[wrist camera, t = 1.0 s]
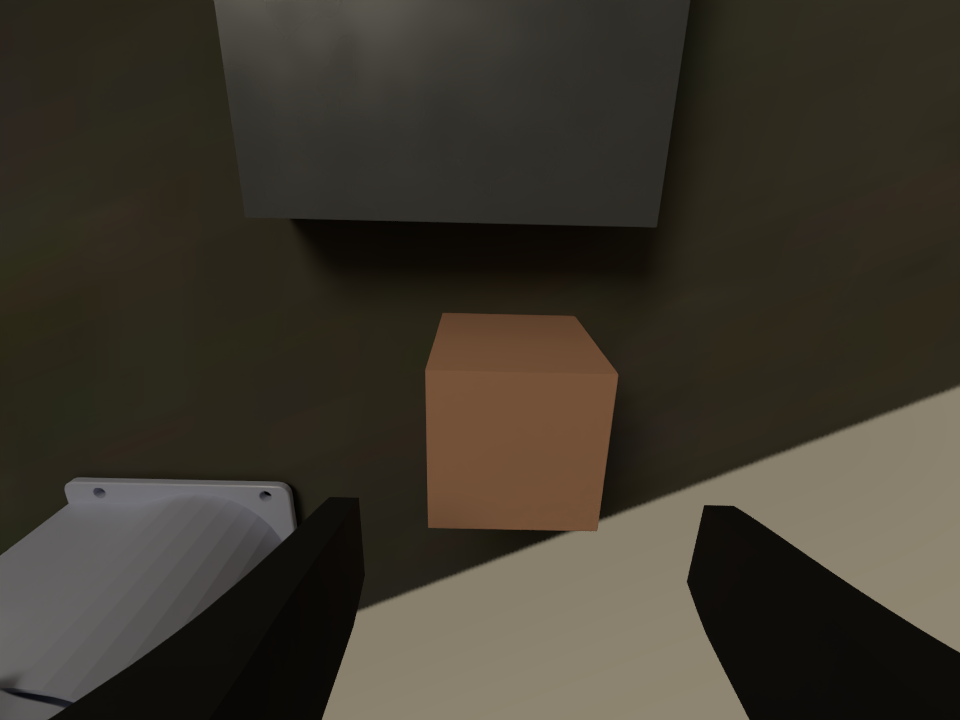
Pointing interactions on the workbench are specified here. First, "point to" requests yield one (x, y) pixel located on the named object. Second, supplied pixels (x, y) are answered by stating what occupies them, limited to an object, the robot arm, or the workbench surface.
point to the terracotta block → (516, 423)
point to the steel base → (453, 108)
